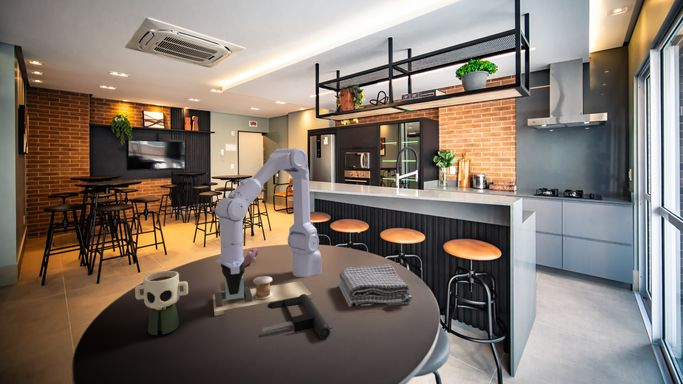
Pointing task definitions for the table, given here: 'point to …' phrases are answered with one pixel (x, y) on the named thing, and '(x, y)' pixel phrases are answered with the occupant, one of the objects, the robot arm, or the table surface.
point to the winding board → (276, 296)
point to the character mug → (162, 300)
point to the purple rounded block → (250, 256)
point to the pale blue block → (240, 293)
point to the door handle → (299, 318)
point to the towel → (373, 286)
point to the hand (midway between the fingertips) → (233, 291)
